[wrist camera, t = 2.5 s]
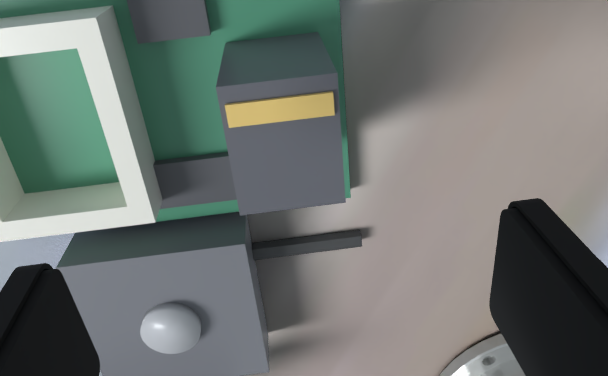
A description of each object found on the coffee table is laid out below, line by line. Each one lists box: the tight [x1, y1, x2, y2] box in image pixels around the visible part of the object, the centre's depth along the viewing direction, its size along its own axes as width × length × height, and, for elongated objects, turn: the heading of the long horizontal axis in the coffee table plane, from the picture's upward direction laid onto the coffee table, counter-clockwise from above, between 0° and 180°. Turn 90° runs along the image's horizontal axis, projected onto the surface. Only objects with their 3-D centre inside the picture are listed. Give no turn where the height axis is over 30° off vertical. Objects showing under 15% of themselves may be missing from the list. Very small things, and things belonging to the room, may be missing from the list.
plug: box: [216, 32, 346, 216], centre depth 20 cm, size 4×6×6 cm
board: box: [0, 0, 351, 242], centre depth 22 cm, size 17×12×3 cm
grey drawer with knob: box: [56, 212, 362, 376], centre depth 27 cm, size 15×9×4 cm, turn 96°
